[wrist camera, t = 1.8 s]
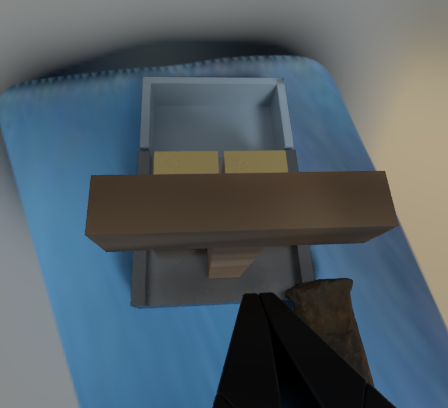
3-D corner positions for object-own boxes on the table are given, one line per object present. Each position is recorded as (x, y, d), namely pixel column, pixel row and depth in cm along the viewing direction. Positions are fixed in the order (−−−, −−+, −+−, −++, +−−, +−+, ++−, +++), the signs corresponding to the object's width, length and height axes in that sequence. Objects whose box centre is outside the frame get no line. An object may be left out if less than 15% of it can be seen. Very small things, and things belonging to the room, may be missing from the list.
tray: (283, 165, 26) (293, 146, 23) (146, 167, 25) (139, 147, 22) (275, 102, 28) (283, 78, 25) (148, 102, 27) (142, 76, 24)
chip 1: (218, 224, 22) (220, 209, 19) (158, 226, 21) (152, 211, 19) (215, 171, 23) (217, 150, 20) (159, 172, 23) (154, 151, 20)
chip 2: (281, 222, 22) (293, 208, 19) (223, 224, 22) (227, 209, 19) (275, 170, 24) (285, 150, 21) (221, 171, 23) (224, 150, 20)
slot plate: (302, 300, 22) (317, 296, 20) (139, 308, 21) (130, 306, 19) (284, 168, 26) (295, 149, 23) (145, 170, 25) (138, 151, 22)
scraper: (300, 274, 21) (398, 225, 10) (144, 281, 20) (84, 235, 10) (294, 227, 22) (377, 141, 12) (145, 231, 21) (94, 142, 11)
